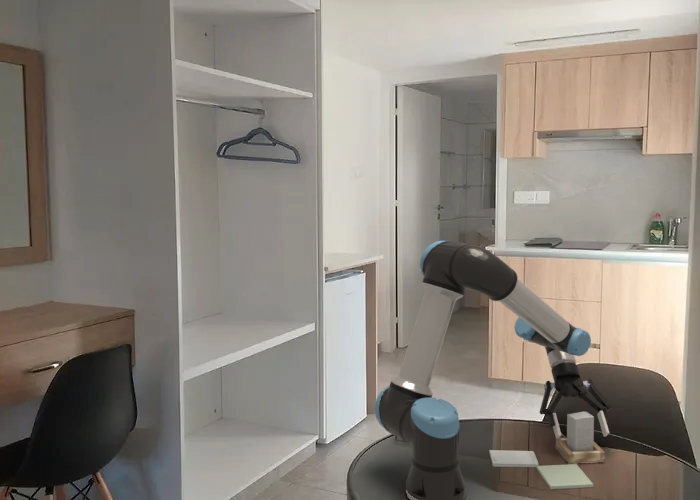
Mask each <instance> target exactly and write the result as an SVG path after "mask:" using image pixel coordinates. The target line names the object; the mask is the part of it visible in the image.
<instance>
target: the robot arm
mask: <svg viewBox="0 0 700 500" xmlns="http://www.w3.org/2000/svg"><path fill="white" fill-rule="evenodd" d="M419 267H420V271H421V274H422V276H423V278H422V282H421V285H422V287H423V289H424V294H423V298H422V301H421V304H420V307H419V310H418V314H417V316H416V319H415V323H414V326H413V330H412V332H411V335H410V339H409V341H408V345H407V348H406V352H405V355H404V358H403V360H402V364H401V367H400V370H399V374H398V376H396V377H394V378H391V380H390V383H389V386H387V387H385V388H383V390H381V391H380V392H379V394H378V395H377V397H376V399H375V402H374V403H375V404H374V415H375V418H376V420H377V422H378V424H379V425H380V427H382V428H383V429H384V430H385V431H386V432H388V433H389V434H391V435H394V436H395V437H397V438H399V439H400V440H402V441H403V442H405V443H406V444H408V445H409V446H411V466H410V469H409V472H408V476H407V478H406V482H405V487H406V490H407V491H408V493H409V494H410V495H411V496H413V497H414V498H416V499H418V500H465V499H466V497H467V494H466V493H467V488H466V483H465V480H464V478H463V474H462V471H461V469H460V463H459V462H460V459H459V457H460V453H459V452H460V420H459V419H460V418H459V413H458V412H459V411H458V410H457V409H456V407H455V406H454V405H453V404H452V403H450V402H449V401H447V400H445V399H442V398H438V399H437V398H436V397H433V392H432V389H431V387H430V385H431V381H432V378H433V374H434V372H435V369H436V365H437V362H438V360H439V356H440V353H441V350H442V347H443V343H444V340H445V337H446V333H447V330H448V327H449V324H450V321H451V317H452V314H453V311H454V307H455V304H456V302H457V300H459V299H462V298H463V297H464V295H465V291H466V290H470V291H472V292H473V291H474V292H476V293H479V294H482V295H484V296H485V297H487V298H488V299H489V300H491V301H493V302H499V303H501V304H502V305H503V306H504V307H506V308H507V309H508V310H509V311H511V312H512V313H513V314H515V315H516V317H518V318H517V319H516V321H515V324H514V331H515V334H516V336H518V337H519V338H521V339H522V340H526V341H529V342H531V343H533V344H537V345H539V346H542V347H544V349H545V352H546V355H547V358H548V359H547V360H548V363H549V367H550V369H551V375H552V378H553V381H554V382H552V381H550V380H547V381H546V382H545V384H544V393H543V398H542V401H541V405H540V408H539V414H540V415H545V417H546V418H547V421H548V425H549V427H552V429H553V432H554V435H555V440H556V439H559V438H561V436H562V432H561V428H560V424H559V421H558V417H557V413H556V412H554V410H555V409H556V407H557V405H558V403H559V402H560V400H562V399H561V398H562V397H565V398H577V397H578V398H579V399H582V400H583V401H584V402H586V403H587V404H588V405H589V406H591V407H592V408H593V409H594V410H595V411H596V412H598V413H597V419H598V423H599V425H600V429H601V433H602V435H603V437H607V436H608V435H609V434H610V431H609V426H608V423H609V416H608V413H607V412H609V411H610V410H611V408H612V404H611V403H610V402H609V401H608V399H606V398H605V396H604V395H603V394H602V393H601V392H600V390H599V389H598V388H597V387H596V386H595V384H594V381H593V379H592V378H588V380H582V379H581V375H580V371H579V368H578V365H577V362H576V358H575V356H577V357H582V356H584V355H586V353H588V351H589V348H590V347H591V343H592V340H591V339H592V338H591V335H590V334H589V332H588V331H587V330H585V329H583V328H580V327H575V326H574V325H572V324H571V323H570V322H569V321H567V320H566V319H565V318H564V317H563V316H562V315H561V314H560V313H558V312H557V311H555V310H554V308H553V307H551V306H550V305H549V304H547V303H546V302H545V301H544V300H543V299H542V298H540V297H539V296H538V295H537V294H536V293H535V292H534V291H532V290H531V289H530V288H529V287H527V286H526V285H525V284H524V283H523V282H522V281H520V279H519V277H518V274H517V272H516V271H515V270H514V269H513V268H511V266H510V265H508V263H506V262H505V261H504V260H502V259H501V258H500V257H499V256H496V254H494V253H493V252H491V251H490V250H488V249H486V248H485V247H482V246H479V245H474V244H468V243H464V242H458V241H454V240H453V241H452V240H438V241H434V242H432V243H431V244H429V245H428V246H427V247H426V248H425V249H424V251H423V253H422V255H421V257H420V261H419ZM584 387H585V388H584ZM553 389H555V390H556V391H557V392H558V393H557V394H556V397H554V400H553V402H552V403H551V405H550V406H549V408H547V407H548V403H549V400H550V395H551V391H552V390H553ZM587 391H588V392H589V393H588V392H587Z"/></svg>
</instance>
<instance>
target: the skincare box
mask: <svg viewBox="0 0 700 500" xmlns="http://www.w3.org/2000/svg"><path fill="white" fill-rule="evenodd" d="M566 418H567V419H566V438H567V447H568V448H569V449H570V450H571V452H582V451H593V441H594V440H595V439H594V438H595V437H594V436H595V435H594V434H595V432H594V430H595V429H594V428H595V426H594V424H595V416H593V415H592V414H590V413H589V412H588V411H579V412H573V413H567V414H566ZM594 442H595V441H594Z"/></svg>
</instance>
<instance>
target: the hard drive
mask: <svg viewBox="0 0 700 500" xmlns="http://www.w3.org/2000/svg"><path fill="white" fill-rule="evenodd" d="M488 455H489V459H490V462H491V466H492V467H496V468H497V467H499V468H500V467H502V468H505V467H507V468H508V467H509V468H537V466H540V465H539V461H538V459H537V456H536V454H535V451H533V450H504V449H503V450H499V449H498V450H497V449H489V450H488Z"/></svg>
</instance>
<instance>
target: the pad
mask: <svg viewBox="0 0 700 500" xmlns="http://www.w3.org/2000/svg"><path fill="white" fill-rule="evenodd" d="M536 470H537V472H538V473H539V475H540V476H541V478H542V479H543V480H544V482H545V483H546V484H547V486H548V487H549V489H550V490H563V489H564V490H565V489H580V488H581V489H583V488H585V489H586V488H594V483H593V482H592V481H591V480H590V479H589V477H588V476H587V475H586V473H585V472H584V471H583V470H582V469H581V468H580V466H579V464H568V463H567V464H554V465H552V464H551V465H550V464H549V465H539V466H537V467H536Z"/></svg>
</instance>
